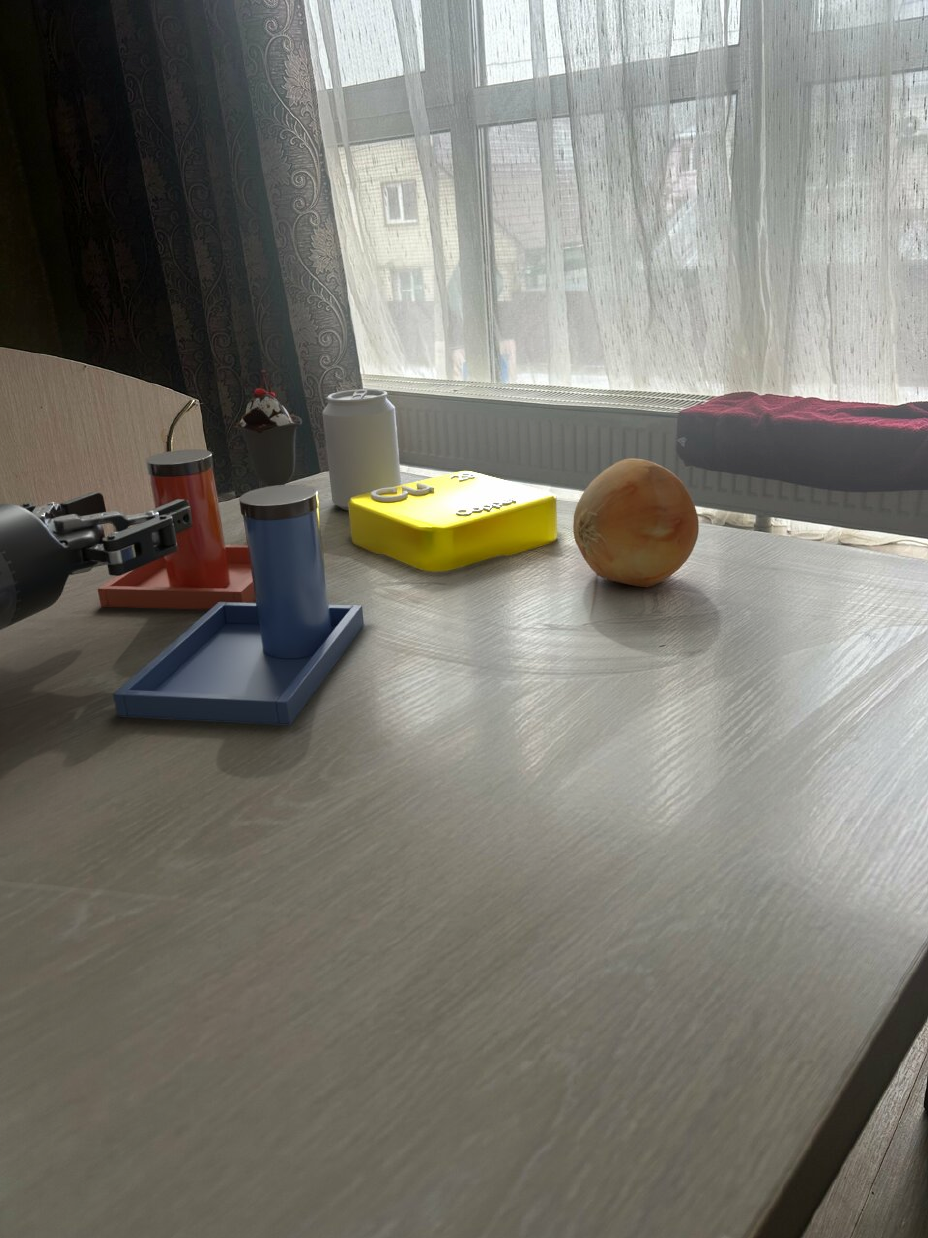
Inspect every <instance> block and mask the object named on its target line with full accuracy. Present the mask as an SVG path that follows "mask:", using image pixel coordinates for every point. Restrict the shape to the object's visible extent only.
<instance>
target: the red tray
mask: <svg viewBox="0 0 928 1238" xmlns="http://www.w3.org/2000/svg"><path fill="white" fill-rule="evenodd" d="M225 548H226V554H227V561H228V567H229V573H230V580H231V581H230V584H229V585H228V586H226V587H225V588H223V589H219V588H173V587H169V581H168V576H167V570H166V565H165V559H164V557H162V558H159V559H157V560H155V561H153V562H150V563H148V564H146V565H143V566H141V567H139V568H136V569H134V570H132V571H130V572H127V573H125V574H123V575H120V576H114V577H113V578H112V579H110V580H108V581H107V582H106V583H104V584H103V585H101V586H100V587H98V588H97V593H98V597H99V603H100V606H101V607H102V608H104V607H105V608H135V609H136V608H139V609H140V608H142V609H174V610H175V609H178V610H179V609H181V610H210V609H211V608H213V607H214V606H215V605H216V604H217V603H218V602H235V603H254V601H256V600H255V593H254V586H253V579H252V573H251V566H250V559H249V552H248V546H247V544H225Z"/></svg>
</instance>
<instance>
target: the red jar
mask: <svg viewBox="0 0 928 1238" xmlns="http://www.w3.org/2000/svg"><path fill="white" fill-rule="evenodd" d="M144 462H145V468H146V473H147V475H148V476H149V482H150V487H151V488H150V489H151V493H152V500H153V504H154V509H155V508H158V507H160V506H162V505H165V504H167V503H170V502H172V501H175V500H177V499H181V500H188V502H189V503H190V509H191V515H192V521H193V524H192V526H191V527H190V528H189V529H187V530H185V531H182V532H180V533H178V534H176V535H175V536H176V541H177V547H178V550H177V551H176V552H173V553H171V554H169V555H166V556H164V559H165V565H166V570H167V576H168V581H169V587H173V588H219V589H223V588H225V587H226V586H228V585H229V584H230V581H231V580H230V573H229V567H228V561H227V554H226V548H225V545H226V543H225V537H224V535H225V534H224V529H223V522H222V517H221V511H220V503H219V498H218V491H217V485H216V479H215V478H216V477H215V472H214V467H215V466H214V457H213V452H211V451H209V450H207V449H197V448H196V449H195V448H192V449H190V448H189V449H178V450H171V451H165V452H160V453H155V454H153V455H151V456H148V457H147V458H146V459H145V461H144Z"/></svg>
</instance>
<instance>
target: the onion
mask: <svg viewBox="0 0 928 1238" xmlns="http://www.w3.org/2000/svg"><path fill="white" fill-rule="evenodd" d="M572 525H573V526H572V527H573V528H572V530H573V531H572V532H573V537H574V541H575V544H576V546H577V548H578V550H579V552H580V554H581V555H582V558H583V559H584V561H585V562H586V564H587V565H588V566H589V568H590V569H591V570H592V571H593V572H594V573H595V574H596V575H597V576H598V577H601V578H603V579H606V580H609V581H611V582H615V583H620V584H625V585H628V586H634V587H638V588H639V587H640V588H651V587H653V586H655V585H657V584H659V583H662V582H663V581H665V580H666V579H668V578H670V577H671V576H672V575H674V574H675V573H676V572H677V571H678V570H680V569H681V568H682V567H683V565H684V564H685V563H686V562H687V561H688V560H689V558H690V556H691V555H692V553H693V551H694V548H695V547H696V543H697V541H698V538H699V529H700V526H699V516H698V512H697V509H696V505H695V502H694V500H693V498H692V495H691V494H690V492H689V491H688V489H687V486H686V485H685V484H684V482H683V481H682V480H681V479H680V478H679V477H678V476H677V475H676V474H675V473H673V472H672V471H670V470H669V469H667V467H664V466H662V465H660V464H658V463H656V462H653V461H651V460H647V459H642V458H636V457H634V458H633V457H627V458H624V459H621V460H618V461H617V462H615V463H613V464H611V466H609V467H607V468H606V469H604V470H603V471H602V472H600V473H599V474H598V475H597V476H596V477H595V478H594V479H593V480H592V481H591V482H590V483H589V485H587V487H586V488H585V490H584V492H583V493H582V494H581V496H580V498H579V500H578V502H577V504H576V506H575V509H574V513H573V523H572Z"/></svg>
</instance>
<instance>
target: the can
mask: <svg viewBox="0 0 928 1238" xmlns="http://www.w3.org/2000/svg"><path fill="white" fill-rule="evenodd" d="M388 395H389V393H388V392H387V391H386V390H383V389H368V388H367V389H364V388H363V389H349V390H342V391H337V392H334V393H330V394H329V395H328V396H326V399H327V401H328V403H327V405H326V406H325V407H324V409H323V410H322V412H321V413H322V422H323V430H324V440H325V448H326V458H327V466H328V475H329V485H330V494H331V501H332V503H333V504H335V505H336V506H337V507H338V508H340V509H342V510H344V511H348V512H349V507H348V501H349V500H350V499H351V498H352V497H354V496H358V495H362V494H366V493H370V492H372V491H374V490H377V489H381V488H391V487H396V486H400V485H402V477H401V465H400V453H399V441H398V428H397V427H398V426H397V416H396V415H397V414H396V406H395V405H394V404H393V403H392V402H391V401H390V400H389V399H388V398H387V396H388Z"/></svg>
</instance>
